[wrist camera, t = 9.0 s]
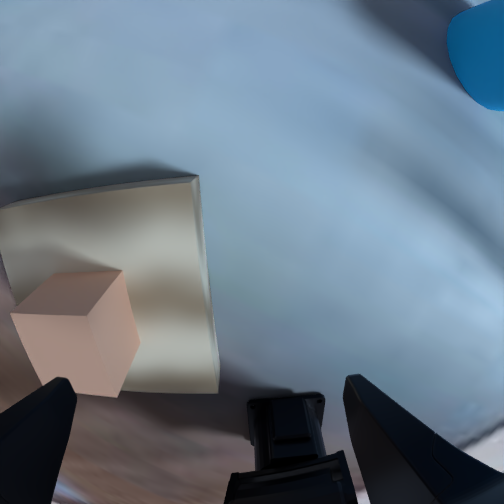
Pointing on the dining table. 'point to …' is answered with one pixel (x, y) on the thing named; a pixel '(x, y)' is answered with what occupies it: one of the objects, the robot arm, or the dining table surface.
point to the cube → (80, 330)
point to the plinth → (129, 269)
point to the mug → (479, 52)
